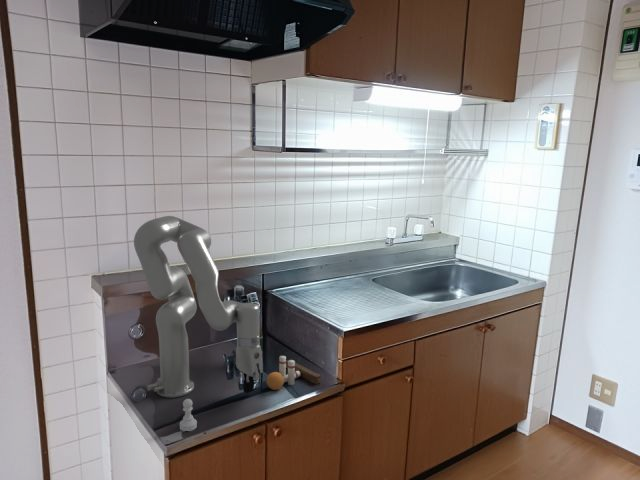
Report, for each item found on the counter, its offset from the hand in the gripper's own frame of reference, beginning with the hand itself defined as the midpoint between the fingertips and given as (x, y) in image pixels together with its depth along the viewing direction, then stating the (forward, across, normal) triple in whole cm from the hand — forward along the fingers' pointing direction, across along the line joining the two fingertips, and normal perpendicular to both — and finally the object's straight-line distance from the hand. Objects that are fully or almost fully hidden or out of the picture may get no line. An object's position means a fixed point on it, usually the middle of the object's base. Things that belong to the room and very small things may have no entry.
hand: (248, 391), depth 167 cm
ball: (-2, -2, -10) cm, 10 cm away
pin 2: (+2, -2, -16) cm, 17 cm away
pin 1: (+2, +2, -16) cm, 17 cm away
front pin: (0, 0, -14) cm, 14 cm away
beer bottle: (+2, +22, -17) cm, 28 cm away
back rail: (+2, 0, -24) cm, 24 cm away
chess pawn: (+2, -5, +25) cm, 26 cm away
